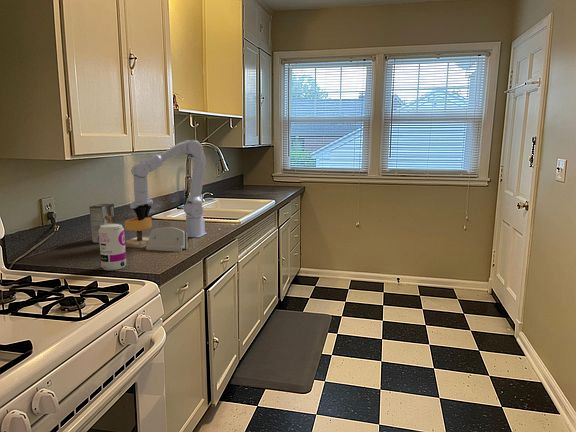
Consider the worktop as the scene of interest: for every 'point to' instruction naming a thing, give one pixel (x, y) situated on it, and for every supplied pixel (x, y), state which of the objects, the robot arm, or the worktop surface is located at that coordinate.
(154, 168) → the robot arm
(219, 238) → the worktop surface
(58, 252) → the worktop surface
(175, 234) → the grey napkin holder
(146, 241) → the keeper board
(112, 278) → the worktop surface
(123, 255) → the supplement can
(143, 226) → the orange square frame
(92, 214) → the coffee box
